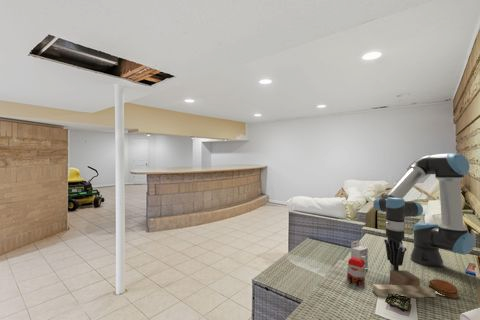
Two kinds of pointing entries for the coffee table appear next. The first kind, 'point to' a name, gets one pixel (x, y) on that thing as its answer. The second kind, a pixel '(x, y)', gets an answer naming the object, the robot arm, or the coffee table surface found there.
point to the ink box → (359, 252)
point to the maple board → (404, 290)
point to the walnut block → (403, 278)
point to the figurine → (356, 270)
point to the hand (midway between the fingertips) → (394, 277)
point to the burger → (444, 288)
